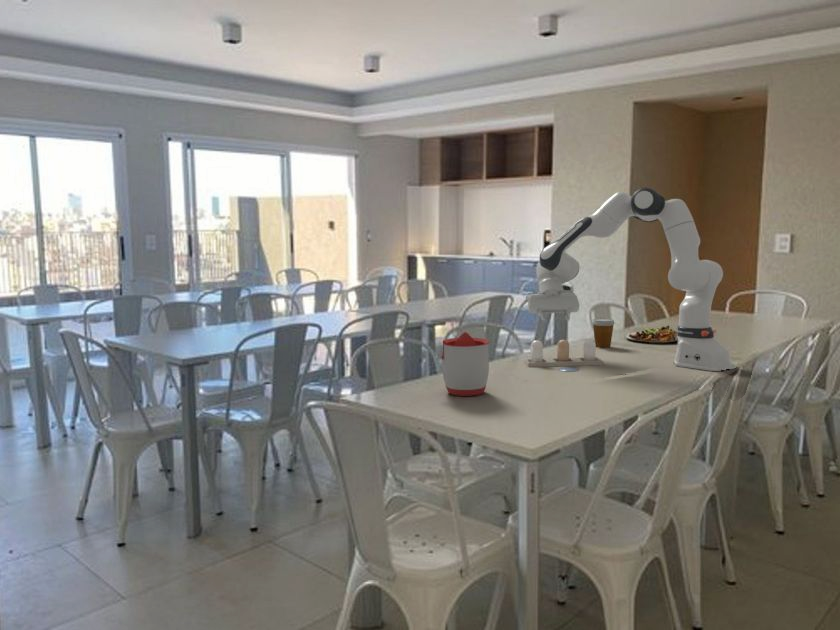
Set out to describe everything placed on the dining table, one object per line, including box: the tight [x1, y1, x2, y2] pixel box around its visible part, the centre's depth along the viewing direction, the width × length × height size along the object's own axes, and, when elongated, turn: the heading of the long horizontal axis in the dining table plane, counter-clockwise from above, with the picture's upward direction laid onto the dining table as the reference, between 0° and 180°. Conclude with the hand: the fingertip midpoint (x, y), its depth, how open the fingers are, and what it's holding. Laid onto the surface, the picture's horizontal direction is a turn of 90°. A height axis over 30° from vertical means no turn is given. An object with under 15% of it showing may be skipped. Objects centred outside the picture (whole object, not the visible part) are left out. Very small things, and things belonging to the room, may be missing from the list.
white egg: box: [530, 340, 544, 362], centre depth 264 cm, size 4×4×9 cm
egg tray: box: [523, 356, 605, 368], centre depth 265 cm, size 29×8×3 cm, turn 92°
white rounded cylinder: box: [582, 338, 597, 361], centre depth 265 cm, size 4×4×9 cm
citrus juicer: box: [435, 331, 490, 397], centre depth 227 cm, size 16×17×20 cm
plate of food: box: [624, 325, 678, 344], centre depth 321 cm, size 28×28×6 cm
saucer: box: [556, 366, 580, 373], centre depth 254 cm, size 8×8×1 cm
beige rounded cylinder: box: [556, 339, 570, 362], centre depth 264 cm, size 4×4×9 cm
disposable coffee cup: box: [591, 317, 616, 349], centre depth 304 cm, size 10×10×12 cm
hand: (555, 319), depth 275 cm, fingers open, 8 cm apart
